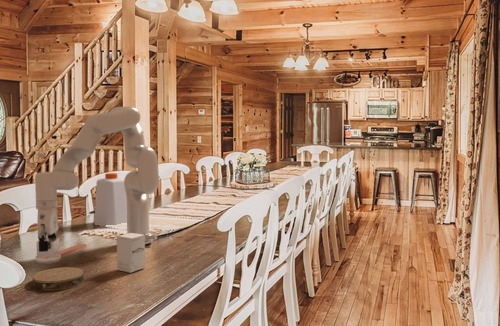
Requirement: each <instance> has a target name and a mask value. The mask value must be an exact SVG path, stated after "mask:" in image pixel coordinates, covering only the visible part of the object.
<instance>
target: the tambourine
mask: <svg viewBox="0 0 500 326" xmlns="http://www.w3.org/2000/svg"><path fill="white" fill-rule="evenodd" d="M83 282H84V270H83V269H81V268H78V267H71V266H69V267H67V266H66V267H64V266H63V267H62V266H61V267H53V268H48V269H45V270H40V271H37V272H36V273H34V274H33V276H32V285H33V287H34V288H35V289H39V290H41V291H61V290H66V289H71V288H75V287H78V286H79V285H81V284H82V283H83Z"/></svg>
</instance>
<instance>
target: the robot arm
mask: <svg viewBox="0 0 500 326" xmlns="http://www.w3.org/2000/svg"><path fill="white" fill-rule="evenodd" d="M140 122H141V113H140V112H139V110H138V109H137V108H136V107H133V106H116V107H113V108H111V109H110V111H109V112H102V113H101V112H100V113H92V114H91V115H89V117H87V119H86V120H85V122H84V124H83V126H82V128H80V131H79V132H78V134H77V136H76V138H75V140H74V141H73V143H72V144H71V145H70V146H69V147H68V148H67V149H66V150H65V152H64V153H63V154H62V155H61V156H60V158H59V159H58V160H57V162H56V164H55V165H54V167H53V169H52V171H42V172H37V173H36V174H35V176H34V182H35V183H34V186H35V209H36V210H37V219H36V220H37V223H36V224H37V235H38V236H37V238H38V240H37V241H39V251H40V252H47V251H48V241H47V238H57V232H58V231H59V217H58V216H59V215H58V193H57V191H71V190H74V189H76V188H77V186H78V185H79V183H80V178H79V176H78V174H76V173H75V172H74V170H75V169H76V167H77V166H78V165H79V164H80V163H81V162H83V161H84V160H86V159H88V158H89V157H90V156H92V155H93V154H94V153H95V151H96V149H97V146H98V145H99V144H100V142H101V139H102V138H103V136H104V135H110V134H111V135H112V134H115V133H119V132H121V134H122V136H123V145H124V159H125V163H126V164H127V166H129V167H131V168H134V169H135V168H136V169H137V170H131V171H129V172H128V173H127V174H126V175H125V177H124V179H125V180H124V187H125V192H126V200H127V225H126V226H127V227H126V232H127V233H126V234H129V233H136V234H143V235H145V245H147V244H150V243H153V242H154V241H156V240H157V239H158V235H157V234H153V233H152V231H151V230H150V208H149V207H150V200H149V195H152V194H153V193H155V192H156V191H157V190H158V187H159V186H160V185H159V183H160V176H159V160H158V156H157V153H156V151H155V149H153V148H152V147H150V146H146V145H145V137H144V133H143V131H144V130H143V128H142V127H141V125H140Z"/></svg>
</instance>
